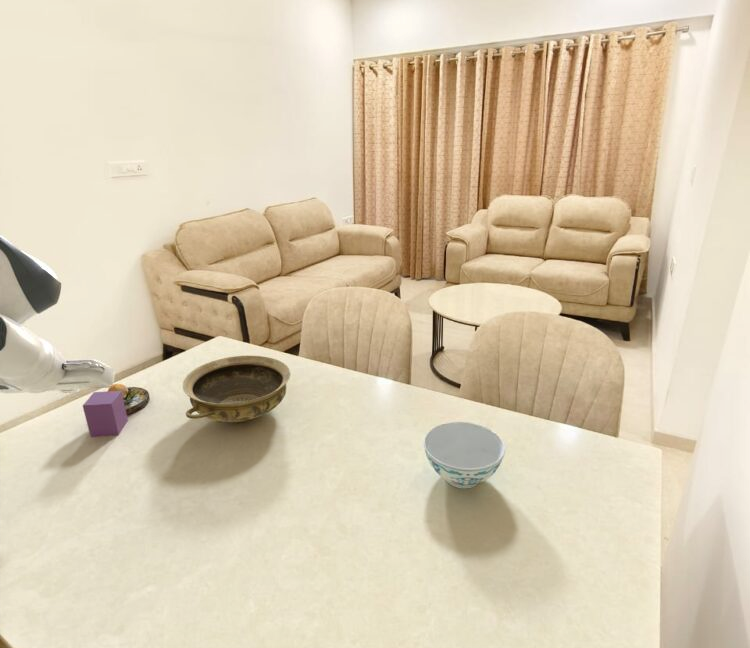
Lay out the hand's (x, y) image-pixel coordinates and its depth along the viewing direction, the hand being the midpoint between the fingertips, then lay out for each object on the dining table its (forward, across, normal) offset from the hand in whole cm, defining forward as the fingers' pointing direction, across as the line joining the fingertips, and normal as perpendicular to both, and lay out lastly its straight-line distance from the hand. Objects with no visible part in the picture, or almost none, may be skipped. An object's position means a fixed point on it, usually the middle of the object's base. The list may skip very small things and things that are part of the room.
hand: (72, 388), depth 101 cm
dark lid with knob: (+24, -1, -3) cm, 24 cm away
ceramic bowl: (+18, -31, +3) cm, 36 cm away
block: (+16, -2, +5) cm, 17 cm away
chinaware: (-4, -76, +24) cm, 80 cm away
